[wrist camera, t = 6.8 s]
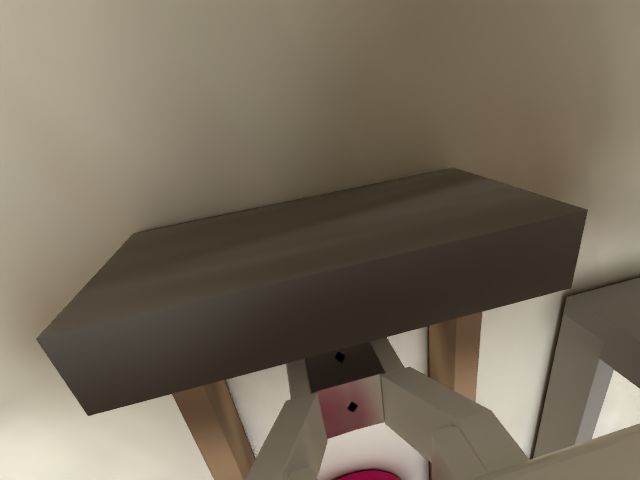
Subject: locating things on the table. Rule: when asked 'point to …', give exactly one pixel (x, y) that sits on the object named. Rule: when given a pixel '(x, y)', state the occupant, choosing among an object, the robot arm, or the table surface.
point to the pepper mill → (369, 476)
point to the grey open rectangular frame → (589, 362)
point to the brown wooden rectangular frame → (307, 293)
